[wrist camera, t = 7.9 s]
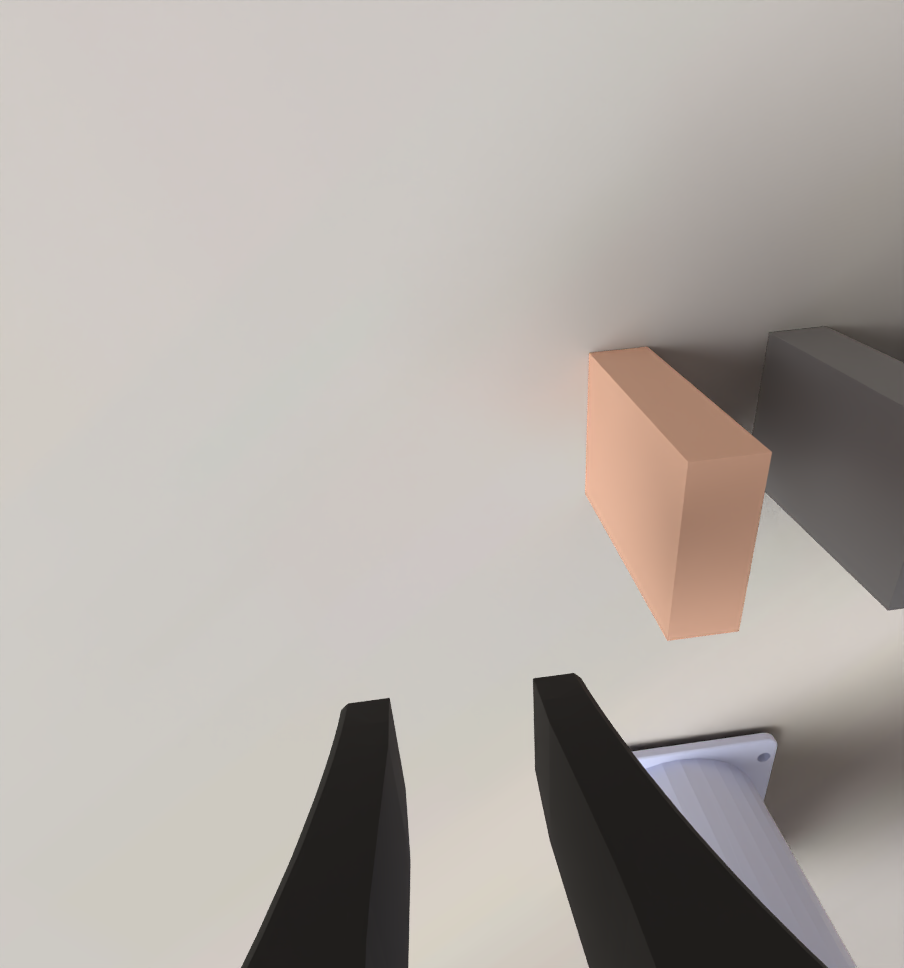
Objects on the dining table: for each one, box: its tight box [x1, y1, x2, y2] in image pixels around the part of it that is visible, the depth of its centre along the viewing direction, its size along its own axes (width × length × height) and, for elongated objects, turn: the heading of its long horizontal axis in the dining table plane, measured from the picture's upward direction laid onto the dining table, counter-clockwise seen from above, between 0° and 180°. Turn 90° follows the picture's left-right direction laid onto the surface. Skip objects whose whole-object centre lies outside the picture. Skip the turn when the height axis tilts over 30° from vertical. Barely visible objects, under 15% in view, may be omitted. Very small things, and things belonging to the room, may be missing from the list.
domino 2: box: [752, 326, 904, 610], centre depth 16 cm, size 2×4×6 cm, turn 5°
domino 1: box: [585, 347, 772, 641], centre depth 16 cm, size 2×4×6 cm, turn 5°
